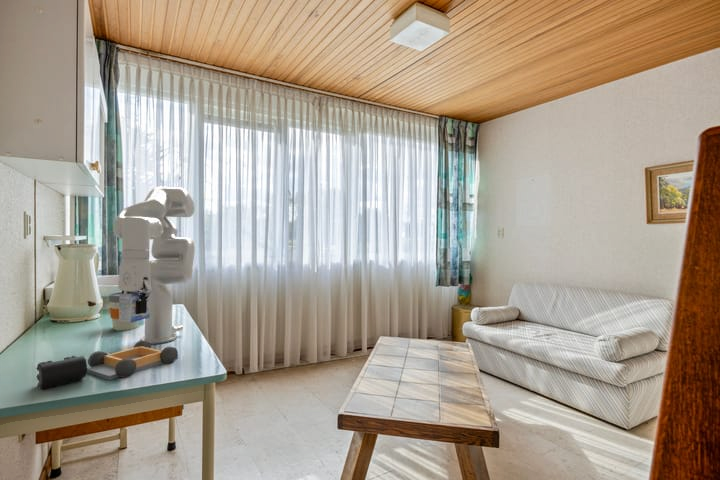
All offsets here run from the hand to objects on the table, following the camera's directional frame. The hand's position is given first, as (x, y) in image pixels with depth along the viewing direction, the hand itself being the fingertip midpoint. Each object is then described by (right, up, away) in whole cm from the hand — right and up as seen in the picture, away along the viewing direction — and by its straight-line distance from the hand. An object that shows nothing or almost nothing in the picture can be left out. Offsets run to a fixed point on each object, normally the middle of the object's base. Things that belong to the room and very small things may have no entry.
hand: (135, 311), depth 120 cm
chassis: (0, -17, 0) cm, 17 cm away
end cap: (-11, -17, -15) cm, 26 cm away
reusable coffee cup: (-32, -16, +47) cm, 59 cm away
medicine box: (0, -3, 0) cm, 3 cm away
